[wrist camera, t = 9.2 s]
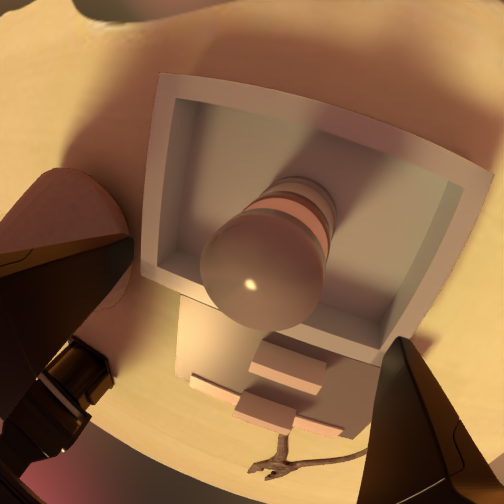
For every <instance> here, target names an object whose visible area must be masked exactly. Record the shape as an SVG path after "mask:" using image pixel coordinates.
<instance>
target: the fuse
mask: <svg viewBox="0 0 504 504" xmlns="http://www.w3.org/2000/svg"><path fill="white" fill-rule="evenodd" d="M336 223H337V210H336V205H335V202H334V200H333V198H332V196H331V195H330V193H329V192H328V191H327V190H326V189H325V188H324V187H323V186H322V185H321V184H320V183H318V182H316V181H315V180H313V179H310V178H307V177H303V176H288V177H284V178H281V179H279V180H277V181H276V182H274V183H273V184H271V185H270V186H269V187H268V188H267V189H265V190H264V191H263V192H262V193H261V194H260V196H259V197H258V198H257V199H255V200H254V201H253V202H252V203H251V204H249V205H248V206H247V207H246V208H245V209H244V210H243V211H242V212H241V213H239V214H237V215H235V216H234V217H232V218H231V219H230V220H229V221H228V222H226V223H225V224H224V225H223V226H222V227H221V228H219V229H218V230H217V231H216V232H215V233H214V234H213V235H212V236H211V237H210V238H209V239H208V241H207V242H206V244H205V246H204V248H203V251H202V254H201V258H200V274H201V279H202V282H203V285H204V288H205V290H206V292H207V294H208V296H209V297H210V299H211V300H212V302H213V303H214V304H215V305H216V307H217V308H218V309H219V310H220V311H221V312H223V313H224V314H225V315H226V316H227V317H229V318H230V319H232V320H233V321H235V322H237V323H239V324H241V325H243V326H245V327H248V328H251V329H255V330H260V331H281V330H286V329H289V328H292V327H295V326H297V325H299V324H300V323H302V322H303V321H305V320H306V319H307V318H308V317H309V316H310V315H311V314H312V313H313V311H314V310H315V308H316V306H317V305H318V302H319V299H320V297H321V292H322V288H323V284H324V280H325V274H326V263H327V259H328V256H329V251H330V247H331V241H332V238H333V236H334V233H335V228H336Z"/></svg>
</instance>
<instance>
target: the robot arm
mask: <svg viewBox="0 0 504 504" xmlns="http://www.w3.org/2000/svg"><path fill="white" fill-rule="evenodd" d="M133 260H134V238H133V236H131V235H128V234H126V233H117V234H111V235H105V236H99V237H92V238H86V239H81V240H75V241H69V242H63V243H58V244H52V245H47V246H41V247H36V248H34V249H33V248H30V249H25V250H19V251H14V252H7V253H1V254H0V504H47V503H46V502H45V501H43V500H42V499H41V498H40V497H39V496H37V495H36V494H35V493H34V492H33V491H32V490H31V489H30V488H29V487H28V486H26V485H25V484H24V483H23V482H22V481H21V480H20V479H19V478H20V477H21V475H22V474H23V473H24V471H25V470H26V469H27V467H28V466H29V465H30V464H31V463H32V462H36V461H40V460H44V459H48V458H52V457H55V456H57V455H58V454H59V453H60V452H61V451H62V452H65V451H66V450H68V449H69V448H70V447H71V446H72V445H73V444H74V442H75V441H76V440H77V438H78V436H79V435H80V434H81V432H82V431H83V429H84V428H85V426H86V425H87V423H88V422H89V420H90V419H91V417H92V416H91V415H90V414H89V413H87V412H86V411H85V410H86V409H87V408H88V407H89V406H90V405H95V404H96V403H97V402H98V401H99V399H100V398H101V397H102V396H103V395H104V393H105V392H106V391H107V390H108V389H112V388H113V383H112V379H111V375H110V370H109V366H108V361H107V359H106V358H105V357H104V356H103V355H101V354H100V353H98V352H96V351H95V350H93V349H92V348H90V347H89V346H87V345H86V344H84V343H83V342H81V341H80V340H78V339H77V338H75V337H74V336H72V335H73V334H74V332H75V331H76V330H77V329H78V328H79V327H80V326H81V324H82V323H83V322H84V321H85V320H86V319H87V318H88V316H89V315H90V314H91V313H92V312H93V311H94V310H95V309H96V308H97V306H98V305H99V304H100V303H101V302H102V301H103V300H104V299H105V298H106V296H107V295H108V294H109V293H110V292H111V290H112V289H113V288H114V286H115V285H116V284H117V282H118V281H119V280H120V279H121V277H122V276H123V275H124V273H125V272H126V271H127V269H128V268H129V267H130V265H131V264H132V262H133ZM67 341H68V343H69V345H68V346H67V347H66V348H65V349H64V350H63V351H62V352H61V353H60V354H59V355H57V356H56V357H55V358H54V359H53V357H54V356H55V355H56V354H57V352H58V351H59V350H60V349H61V348H62V347H63V345H64V344H65V343H66V342H67ZM52 359H53V360H52ZM51 360H52V361H51ZM50 361H51V362H50ZM49 362H50V363H49ZM48 363H49V364H48ZM36 377H37V378H38V380H37V381H36ZM357 504H504V486H503V485H502V484H501V483H500V482H499V480H498V479H497V478H496V476H495V474H494V473H493V471H492V469H491V468H490V466H489V465H488V463H487V462H486V460H485V459H484V457H483V455H482V454H481V452H480V451H479V449H478V448H477V446H476V445H475V443H474V441H473V440H472V438H471V436H470V435H469V433H468V431H467V430H466V428H465V426H464V424H463V423H462V421H461V420H459V416H458V414H457V413H456V411H455V409H454V407H453V406H452V404H451V402H450V401H449V399H448V398H447V396H446V394H445V393H444V391H443V389H442V388H441V386H440V385H439V383H438V381H437V380H436V378H435V377H434V375H433V374H432V372H431V370H430V369H429V367H428V366H427V364H426V363H425V361H424V360H423V358H422V357H421V355H420V354H419V352H418V351H417V349H416V348H415V346H414V345H413V343H412V342H411V340H410V339H408V338H405V337H402V336H397V337H396V338H395V339H394V341H393V342H392V344H391V345H390V347H389V348H388V350H387V351H386V353H385V354H384V357H383V360H382V365H381V370H380V375H379V380H378V385H377V389H376V394H375V399H374V405H373V414H372V422H371V429H370V436H369V443H368V449H367V455H366V461H365V466H364V471H363V477H362V481H361V486H360V491H359V495H358V500H357Z"/></svg>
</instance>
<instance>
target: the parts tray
mask: <svg viewBox="0 0 504 504" xmlns="http://www.w3.org/2000/svg"><path fill="white" fill-rule="evenodd" d="M288 176H303V177H307V178H310V179H313V180H315V181H316V182H318V183H320V184H321V185H322V186H323V187H324V188H325V189H326V190H327V191H328V192H329V193H330V195H331V196H332V198H333V200H334V202H335V205H336V210H337V223H336V228H335V233H334V236H333V238H332V241H331V247H330V251H329V256H328V259H327V263H326V274H325V280H324V284H323V288H322V292H321V297H320V299H319V302H318V305H317V306H316V308H315V310H314V311H313V313H312V314H311V315H310V316H309V317H308V318H307V319H306V320H305V321H303V322H302V323H300V324H299V325H297V326H295V327H292V328H289V329H286V330H281V331H276V332H278V333H281V334H284V335H286V336H289V337H292V338H295V339H297V340H300V341H303V342H306V343H309V344H311V345H314V346H317V347H320V348H323V349H326V350H329V351H332V352H335V353H338V354H341V355H344V356H347V357H350V358H353V359H356V360H359V361H362V362H366V363H369V364H372V365H375V366H378V367H381V365H382V360H383V357H384V354H385V353H386V351H387V350H388V348H389V347H390V345H391V344H392V342H393V341H394V339H395V338H396V337H397V336H402V337H405V338H408V339H410V338H411V336H412V335H413V333H414V332H415V330H416V329H417V327H418V326H419V324H420V323H421V321H422V320H423V318H424V317H425V315H426V313H427V312H428V310H429V309H430V307H431V305H432V304H433V302H434V300H435V299H436V297H437V295H438V294H439V292H440V290H441V289H442V287H443V285H444V283H445V282H446V280H447V278H448V276H449V274H450V272H451V271H452V269H453V267H454V265H455V263H456V261H457V259H458V257H459V255H460V253H461V251H462V249H463V247H464V245H465V243H466V241H467V239H468V237H469V235H470V233H471V231H472V229H473V226H474V224H475V222H476V220H477V217H478V215H479V213H480V210H481V208H482V206H483V203H484V201H485V198H486V196H487V193H488V191H489V188H490V185H491V183H492V180H493V177H494V174H492V173H491V172H489V171H487V170H485V169H484V168H482V167H480V166H478V165H476V164H474V163H473V162H471V161H469V160H467V159H465V158H463V157H461V156H459V155H457V154H455V153H453V152H451V151H449V150H447V149H445V148H443V147H441V146H439V145H437V144H434V143H432V142H430V141H428V140H426V139H423V138H421V137H419V136H417V135H414V134H412V133H410V132H407V131H405V130H402V129H400V128H397V127H395V126H392V125H390V124H387V123H384V122H382V121H379V120H376V119H374V118H371V117H368V116H365V115H362V114H359V113H357V112H354V111H350V110H347V109H344V108H341V107H338V106H335V105H331V104H328V103H325V102H321V101H318V100H314V99H311V98H307V97H303V96H299V95H295V94H291V93H287V92H283V91H279V90H274V89H270V88H265V87H260V86H255V85H250V84H245V83H240V82H234V81H228V80H222V79H215V78H208V77H201V76H192V75H184V74H174V73H162V72H159V78H158V83H157V89H156V95H155V101H154V107H153V114H152V121H151V128H150V136H149V144H148V153H147V162H146V172H145V184H144V196H143V212H142V232H141V274H140V275H141V276H143V277H145V278H147V279H150V280H152V281H154V282H156V283H158V284H161V285H163V286H165V287H167V288H170V289H172V290H174V291H177V292H179V293H181V294H183V295H186V296H188V297H190V298H193V299H195V300H198V301H200V302H202V303H205V304H207V305H209V306H212V307H214V308H217V307H216V305H215V304H214V303H213V302H212V300H211V299H210V297H209V296H208V294H207V292H206V290H205V288H204V285H203V282H202V279H201V274H200V258H201V254H202V251H203V248H204V246H205V244H206V242H207V241H208V239H209V238H210V237H211V236H212V235H213V234H214V233H215V232H216V231H217V230H218V229H219V228H221V227H222V226H223V225H224V224H225V223H226V222H228V221H229V220H230V219H231V218H232V217H234V216H235V215H237V214H239V213H241V212H242V211H243V210H244V209H245V208H246V207H247V206H248V205H249V204H251V203H252V202H253V201H254V200H255V199H257V198H258V197H259V196H260V194H261V193H262V192H263V191H264V190H265V189H267V188H268V187H269V186H270V185H271V184H273V183H274V182H276V181H277V180H279V179H281V178H284V177H288ZM217 309H218V308H217Z"/></svg>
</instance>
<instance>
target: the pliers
mask: <svg viewBox="0 0 504 504" xmlns="http://www.w3.org/2000/svg"><path fill="white" fill-rule="evenodd" d="M292 427H293V426H292ZM367 449H368V448H366V449H364V450H362V451H360V452H357V453H355V454H352V455H348V456H344V457H338V458H330V459H317V460H303V461H295V462H284V460H285V458H286V454H287V436H286V435H283V434H280V433H279V437H278V449H277V453H276V454H275V456H273V457H272V458H270V459H268V460H264V461H261V462H257V463H254V464H253V465H252V466H251V468H250V469H249V470H248V472H247V473H248V474H249V473H255V472H256V471H263V470H264V468H266V469H269V470H270V469H272V470H274V472H273V471H272V472H271V474H270V475H268V476H266V477H265V481H267V480H271V479H275V478H279V477H282V476H284V475H287V474H288V473H290V472H291V471H295V470H297V469H298V468H301V467H305V466H314V465H324V464H333V463H340V462H345V461H349V460H353V459H356V458H358V457H361V456H363V455H365V454H367Z"/></svg>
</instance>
